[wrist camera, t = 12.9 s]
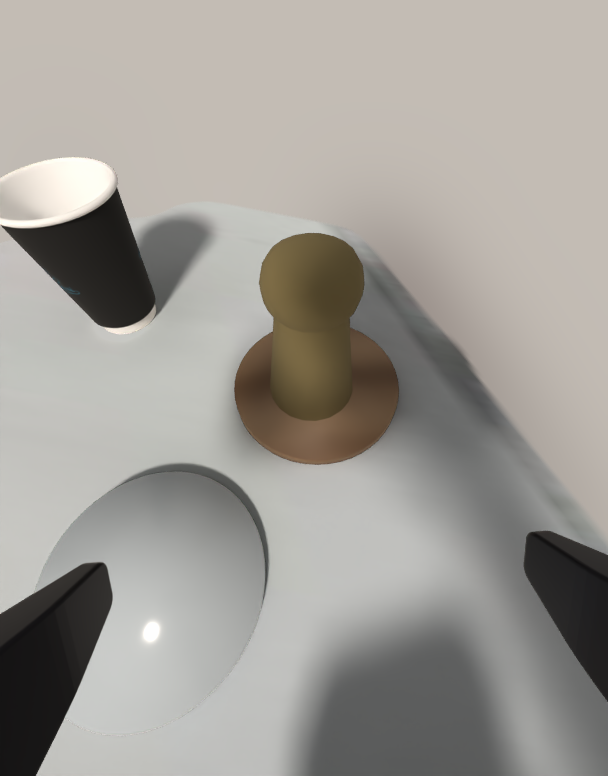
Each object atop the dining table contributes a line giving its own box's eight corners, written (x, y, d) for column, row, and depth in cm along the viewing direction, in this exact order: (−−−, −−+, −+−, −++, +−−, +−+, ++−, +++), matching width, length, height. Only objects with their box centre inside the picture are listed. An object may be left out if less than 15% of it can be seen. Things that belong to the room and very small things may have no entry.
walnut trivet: (423, 440, 23) (427, 434, 22) (251, 484, 22) (249, 480, 21) (363, 317, 30) (364, 309, 29) (226, 345, 28) (224, 337, 27)
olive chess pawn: (253, 382, 25) (219, 249, 16) (313, 339, 27) (315, 201, 18) (308, 438, 22) (306, 319, 13) (370, 386, 24) (406, 253, 15)
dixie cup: (186, 288, 32) (136, 159, 23) (154, 353, 28) (76, 227, 19) (108, 280, 33) (28, 153, 23) (65, 343, 29) (-53, 217, 19)
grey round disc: (241, 455, 23) (239, 449, 22) (291, 669, 17) (291, 672, 16) (50, 508, 21) (40, 504, 20) (27, 779, 15) (11, 789, 14)
